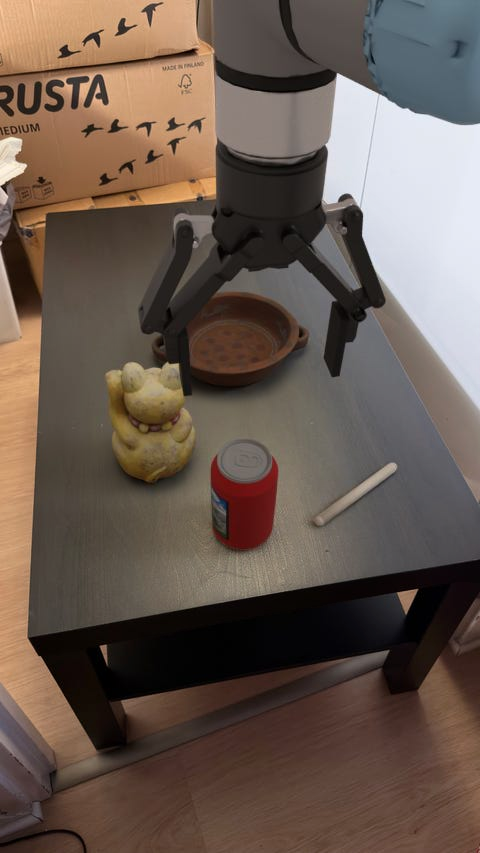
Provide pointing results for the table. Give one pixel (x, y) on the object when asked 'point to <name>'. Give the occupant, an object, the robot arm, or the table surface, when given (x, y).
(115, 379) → the decorative figurine
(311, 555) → the table surface
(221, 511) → the beverage can
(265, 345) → the dish
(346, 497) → the wooden stick
